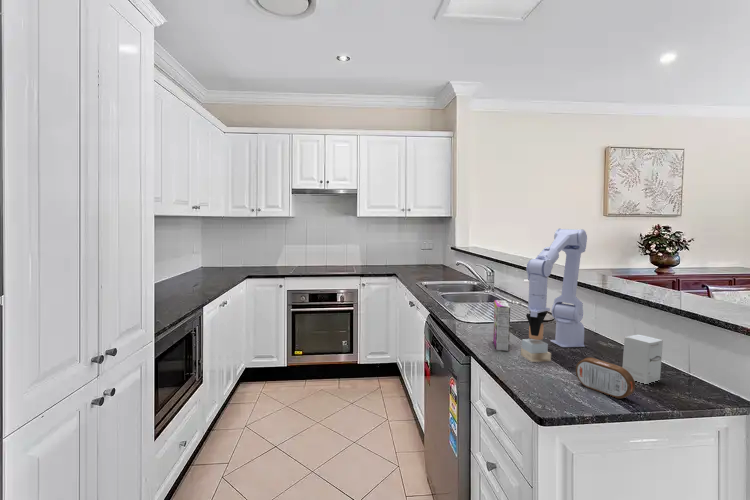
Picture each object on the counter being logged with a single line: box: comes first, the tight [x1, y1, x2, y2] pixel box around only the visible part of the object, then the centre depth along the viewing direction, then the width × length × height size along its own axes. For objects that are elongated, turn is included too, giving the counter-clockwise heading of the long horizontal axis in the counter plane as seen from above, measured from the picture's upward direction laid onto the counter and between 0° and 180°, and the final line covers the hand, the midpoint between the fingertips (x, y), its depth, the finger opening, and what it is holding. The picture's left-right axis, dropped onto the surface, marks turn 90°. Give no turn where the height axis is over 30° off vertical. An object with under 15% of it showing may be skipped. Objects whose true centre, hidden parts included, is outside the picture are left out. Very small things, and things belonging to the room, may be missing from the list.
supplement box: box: [621, 333, 664, 385], centre depth 120 cm, size 7×7×13 cm
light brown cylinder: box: [528, 322, 545, 341], centre depth 137 cm, size 4×4×5 cm
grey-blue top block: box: [521, 338, 549, 353], centre depth 137 cm, size 6×6×3 cm
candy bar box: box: [492, 299, 511, 352], centre depth 149 cm, size 11×5×16 cm, turn 168°
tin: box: [575, 357, 636, 399], centre depth 110 cm, size 15×3×8 cm, turn 33°
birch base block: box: [520, 347, 552, 363], centre depth 138 cm, size 7×7×3 cm
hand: (535, 333), depth 137 cm, fingers closed on light brown cylinder, 4 cm apart
